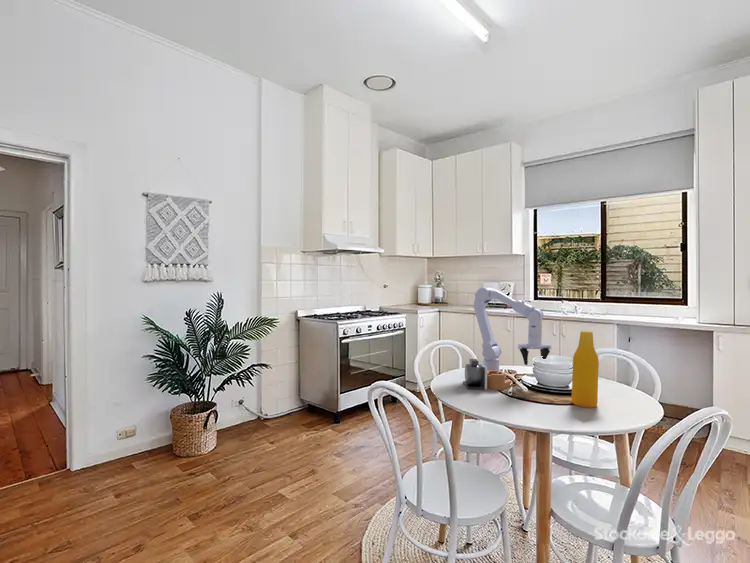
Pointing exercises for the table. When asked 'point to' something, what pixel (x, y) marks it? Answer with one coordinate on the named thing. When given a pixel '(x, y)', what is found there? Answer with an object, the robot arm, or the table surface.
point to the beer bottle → (585, 372)
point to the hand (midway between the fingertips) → (534, 364)
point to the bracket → (497, 380)
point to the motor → (475, 375)
